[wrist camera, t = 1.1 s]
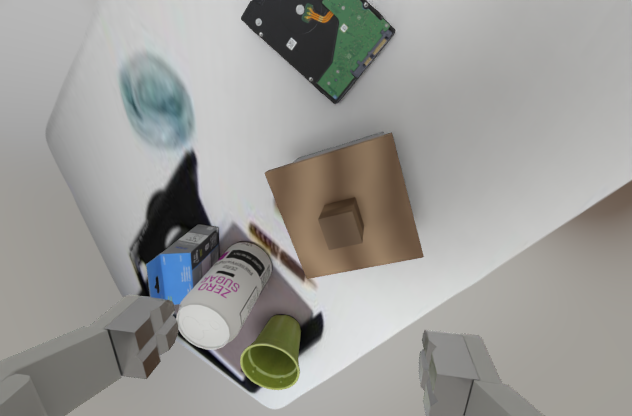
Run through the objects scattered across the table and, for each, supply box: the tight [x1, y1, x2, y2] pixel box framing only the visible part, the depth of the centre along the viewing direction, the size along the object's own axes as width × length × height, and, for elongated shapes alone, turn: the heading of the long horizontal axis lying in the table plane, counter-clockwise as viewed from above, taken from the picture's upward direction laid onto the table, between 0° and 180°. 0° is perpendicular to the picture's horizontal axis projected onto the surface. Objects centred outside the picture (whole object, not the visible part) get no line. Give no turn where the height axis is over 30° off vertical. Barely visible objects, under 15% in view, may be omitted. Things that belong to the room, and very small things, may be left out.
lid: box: [265, 133, 424, 279], centre depth 33 cm, size 14×14×5 cm
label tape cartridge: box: [146, 224, 219, 304], centre depth 46 cm, size 9×4×12 cm, turn 174°
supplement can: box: [176, 242, 272, 350], centre depth 44 cm, size 8×8×15 cm
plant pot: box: [240, 315, 301, 390], centre depth 51 cm, size 9×9×9 cm
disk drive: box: [241, 0, 395, 104], centre depth 36 cm, size 10×3×15 cm
